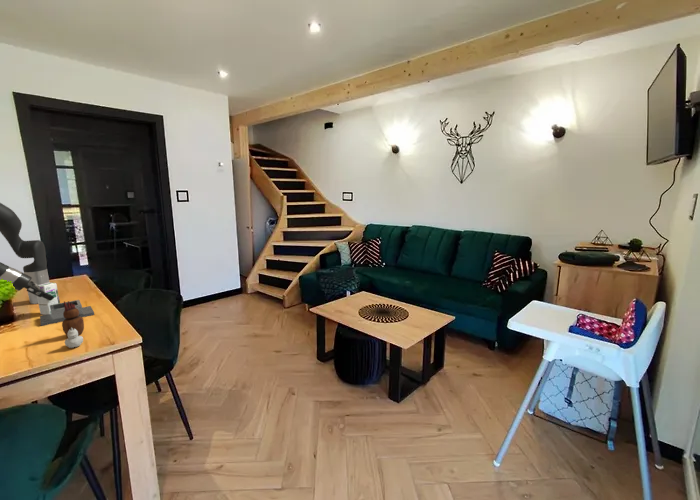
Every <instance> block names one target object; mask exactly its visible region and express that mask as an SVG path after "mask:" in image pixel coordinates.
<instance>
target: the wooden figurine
mask: <svg viewBox="0 0 700 500" xmlns="http://www.w3.org/2000/svg"><path fill="white" fill-rule="evenodd" d="M65 302H66V301H63V303H64V307H65V311H64V313H63V316H64V318H66V319H65V320H64V321H63V322H61V328H62V330H63V333H64V335H66V336H67V337H68V335H67V333H68V331H69V329H70V330H71V327H72V328H73V330H74V328H75V329H76V330H77V331H78V336H81V335H82V334H83V332H84V329H85V321H84V317H80V316H78V315H79V310H78V309H77V308H75V305H74V304H73V305H72V303H69V301H67V302H68V306H67V304H66V303H65Z"/></svg>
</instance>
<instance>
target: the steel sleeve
mask: <svg viewBox="0 0 700 500" xmlns="http://www.w3.org/2000/svg"><path fill="white" fill-rule="evenodd" d="M65 303H66V304H67V306H68V301H65ZM69 303H72V305H73V304H74V305H75V308H77V309H78V310H79V315H78V316H80V317H82V318H85V317H90V316H94V315H95V312H94V309H93V308H92V306H91V305H88V306H83V305H82V303H81V301H80V299H76V300H70V301H69ZM50 309H51V314H47V315H43V314H41V315H39V323H40V327H42V326H43V327H45V326H48V325H52V324H58V323H62V322H63V321H64V320H65V319H66V318H64V316H63V313H64V311H65V307H64V302H60V303H59V304H53V305H50Z"/></svg>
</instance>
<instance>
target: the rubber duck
mask: <svg viewBox="0 0 700 500" xmlns="http://www.w3.org/2000/svg"><path fill="white" fill-rule="evenodd" d="M67 335H68V336H67ZM67 335H66V336H67V338H66V339H64V344H65V346H66V347H68V348H69V349H75V348H78V347H79V346H80V345H82V344H83V342H84V337H83V336H82V335H78V331H77V330H76V329H75V328H74V330H73V328H72V327H71V330H70V329H69V331H68V333H67ZM74 347H75V348H74Z"/></svg>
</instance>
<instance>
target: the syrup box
mask: <svg viewBox="0 0 700 500" xmlns="http://www.w3.org/2000/svg"><path fill="white" fill-rule="evenodd" d="M38 287H40V288H42V289H43V291H44V292H46V293H48V294H50V295H52V296H54V298H53V299H52V300H51V301H50V300H48V299H45V298H43V297H38V296H37V299H38V303H37V304H38V307H39V313H40V315H47V314H51V309H50V305H53V304H59V303H61V300H60V296H59V291H58V285H57V283H56V282H50V283H45V284H41V285H38ZM40 293H41V292H40ZM40 293H39V294H40Z"/></svg>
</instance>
